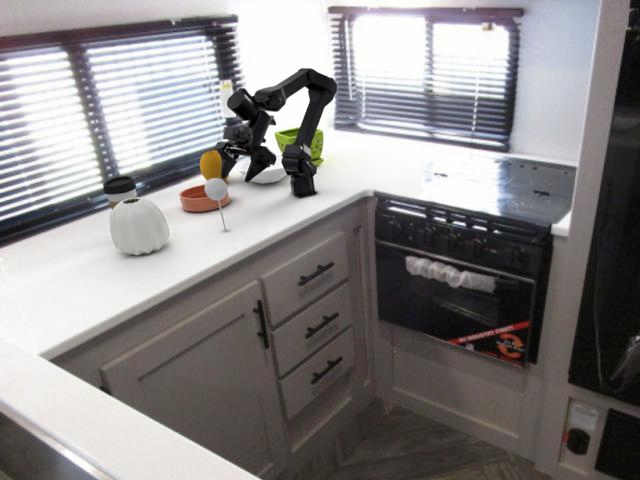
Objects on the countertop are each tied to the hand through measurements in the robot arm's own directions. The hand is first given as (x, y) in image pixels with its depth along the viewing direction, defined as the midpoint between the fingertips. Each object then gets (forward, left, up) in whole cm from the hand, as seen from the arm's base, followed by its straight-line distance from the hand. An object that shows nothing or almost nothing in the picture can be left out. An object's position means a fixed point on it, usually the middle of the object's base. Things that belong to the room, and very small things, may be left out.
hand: (234, 180), depth 158 cm
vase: (+27, +2, -13) cm, 30 cm away
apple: (-4, -43, -13) cm, 45 cm away
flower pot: (-36, -44, -13) cm, 58 cm away
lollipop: (+6, +3, -13) cm, 14 cm away
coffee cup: (+28, -14, -13) cm, 34 cm away
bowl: (-19, -34, -13) cm, 41 cm away
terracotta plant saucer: (+5, -23, -13) cm, 27 cm away
